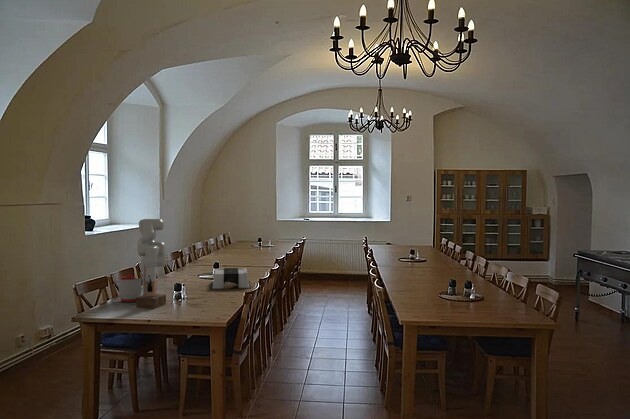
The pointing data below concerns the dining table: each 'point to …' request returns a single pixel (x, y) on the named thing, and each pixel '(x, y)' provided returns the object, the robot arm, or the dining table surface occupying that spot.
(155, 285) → the terracotta block
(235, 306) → the dining table surface
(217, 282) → the grey black bridge block
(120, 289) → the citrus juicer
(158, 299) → the walnut block
